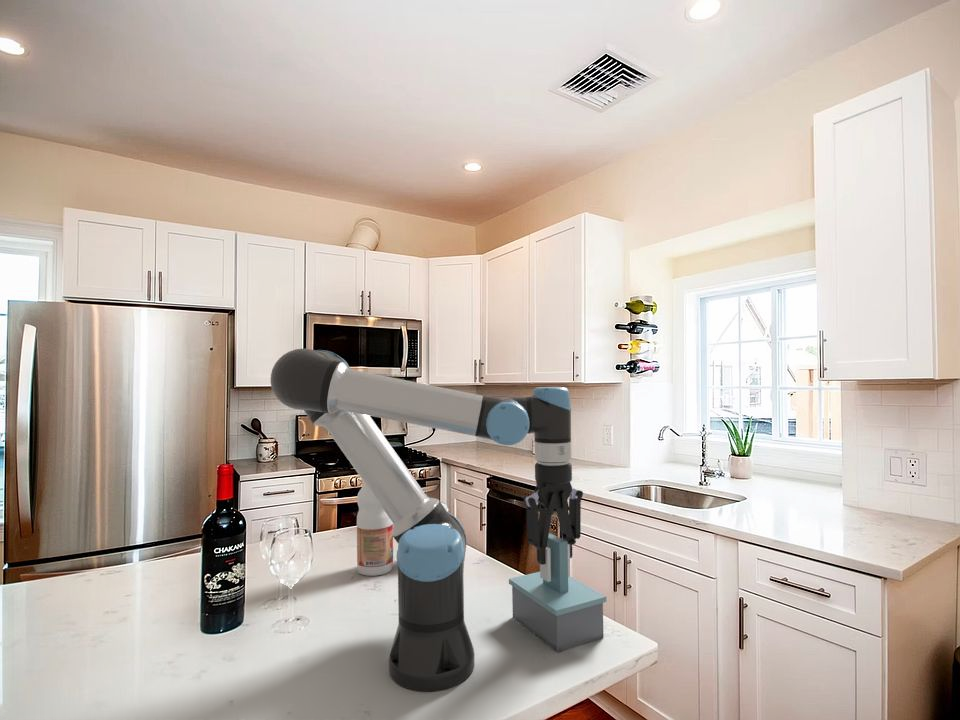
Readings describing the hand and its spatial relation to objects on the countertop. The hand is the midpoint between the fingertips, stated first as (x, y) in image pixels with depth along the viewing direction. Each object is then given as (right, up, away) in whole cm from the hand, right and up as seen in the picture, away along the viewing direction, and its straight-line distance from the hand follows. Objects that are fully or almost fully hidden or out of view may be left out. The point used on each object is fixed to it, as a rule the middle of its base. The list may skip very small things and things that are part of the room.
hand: (555, 576), depth 107 cm
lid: (0, -3, 0) cm, 3 cm away
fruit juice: (-43, -12, +32) cm, 55 cm away
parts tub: (0, -10, 0) cm, 10 cm away
